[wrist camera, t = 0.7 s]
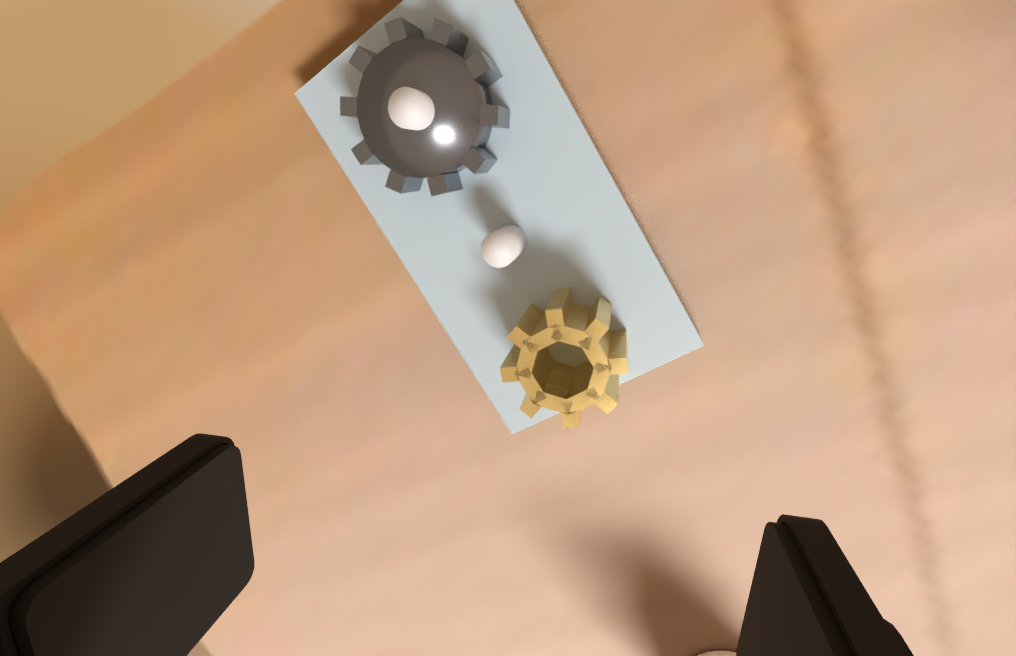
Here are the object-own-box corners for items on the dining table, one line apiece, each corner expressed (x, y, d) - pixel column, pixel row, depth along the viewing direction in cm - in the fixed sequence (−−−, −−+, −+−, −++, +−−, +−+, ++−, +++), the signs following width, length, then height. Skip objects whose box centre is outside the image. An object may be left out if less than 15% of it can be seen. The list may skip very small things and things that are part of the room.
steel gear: (456, -6, 29) (438, -23, 26) (538, 138, 31) (529, 136, 28) (338, 92, 32) (310, 85, 29) (417, 219, 33) (398, 225, 31)
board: (487, -51, 30) (451, -104, 24) (700, 335, 34) (716, 373, 28) (312, 97, 35) (245, 83, 28) (517, 421, 39) (497, 470, 32)
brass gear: (591, 269, 32) (585, 288, 27) (645, 362, 33) (648, 395, 28) (499, 320, 34) (479, 346, 30) (552, 406, 35) (541, 444, 31)
